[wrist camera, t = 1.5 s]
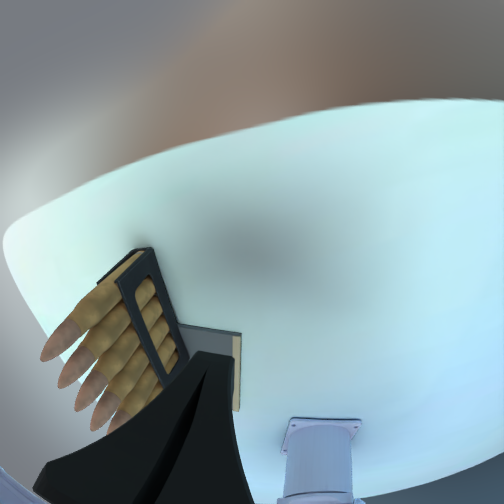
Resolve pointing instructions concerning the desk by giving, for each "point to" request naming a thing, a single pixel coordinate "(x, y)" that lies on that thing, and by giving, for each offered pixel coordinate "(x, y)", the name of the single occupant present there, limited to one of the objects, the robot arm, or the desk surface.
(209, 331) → the mat
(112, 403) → the ammunition clip
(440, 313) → the desk surface
